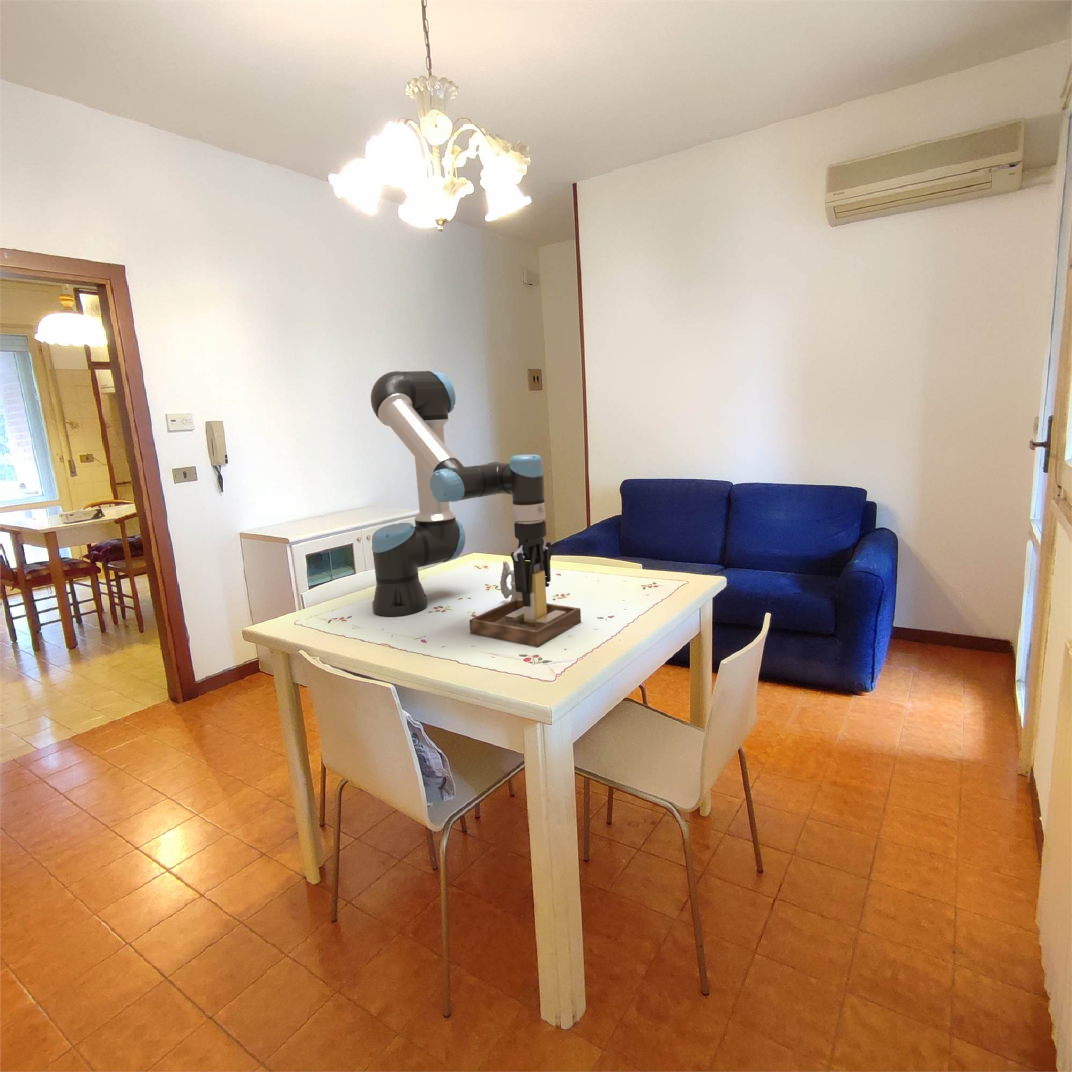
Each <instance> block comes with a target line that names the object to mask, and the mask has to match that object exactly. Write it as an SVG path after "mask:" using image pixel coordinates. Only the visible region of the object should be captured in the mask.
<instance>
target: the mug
mask: <svg viewBox="0 0 1072 1072" xmlns="http://www.w3.org/2000/svg"><path fill="white" fill-rule="evenodd" d="M502 565H503V566H502V571H501V575H500V581H499V584H500V591H501V595H503V598H504V599H505V600H507V599H508V598H509V597H510V596H511V597H510V601H512V600H514V599H522V593H521V592H516V589H515V578H514V569H510V565H509V562H508V561H507V560H504V561H502ZM509 575H511V576H510V577H511V579H510V586H511V589H510V588H509V586H508V585H507V584H508V583H507V579H508V578H509ZM522 600H523V599H522Z"/></svg>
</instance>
